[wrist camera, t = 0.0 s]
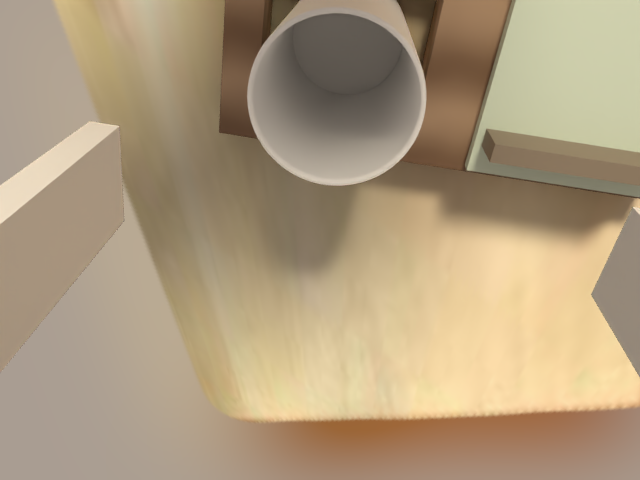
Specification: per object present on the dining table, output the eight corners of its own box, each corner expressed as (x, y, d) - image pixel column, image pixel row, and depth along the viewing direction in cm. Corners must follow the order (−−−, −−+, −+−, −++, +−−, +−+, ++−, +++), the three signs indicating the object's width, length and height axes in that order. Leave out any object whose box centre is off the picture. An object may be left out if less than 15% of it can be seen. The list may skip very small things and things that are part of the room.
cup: (431, 36, 39) (466, 101, 25) (349, 119, 42) (339, 217, 28) (345, -55, 36) (331, -39, 22) (266, 41, 40) (210, 106, 26)
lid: (523, -40, 33) (540, -35, 29) (742, -5, 33) (785, 3, 29) (464, 165, 39) (473, 188, 36) (647, 193, 39) (673, 219, 36)
